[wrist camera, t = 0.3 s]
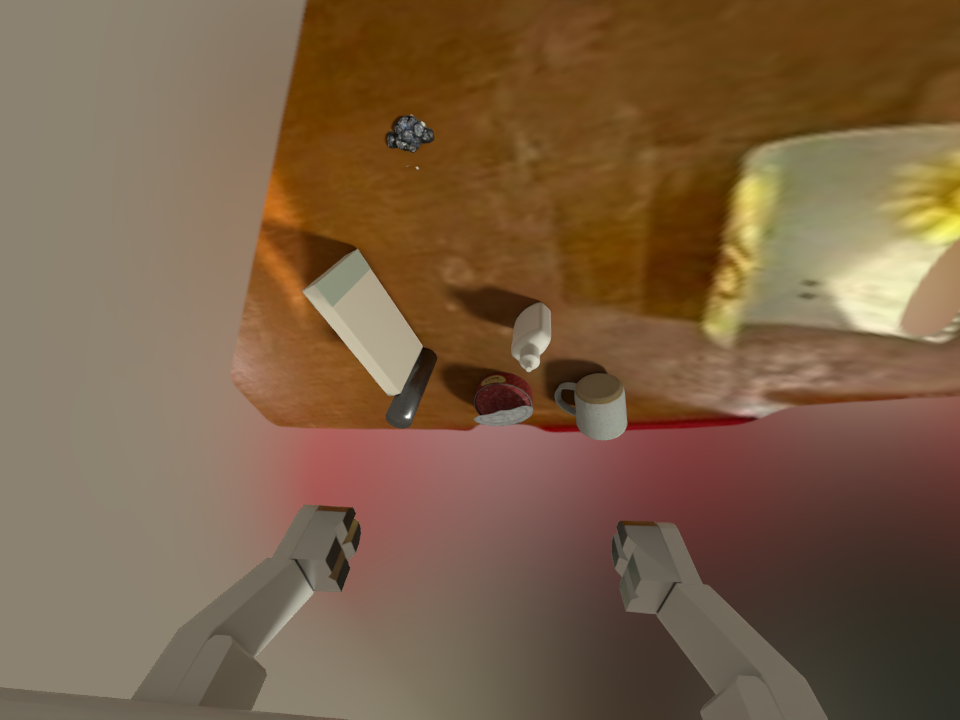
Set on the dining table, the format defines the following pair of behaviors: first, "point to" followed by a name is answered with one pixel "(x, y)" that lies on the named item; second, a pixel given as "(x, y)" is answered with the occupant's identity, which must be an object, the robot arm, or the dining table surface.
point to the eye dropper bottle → (531, 335)
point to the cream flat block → (366, 320)
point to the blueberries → (409, 134)
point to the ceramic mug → (597, 405)
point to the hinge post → (412, 391)
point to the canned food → (503, 400)
